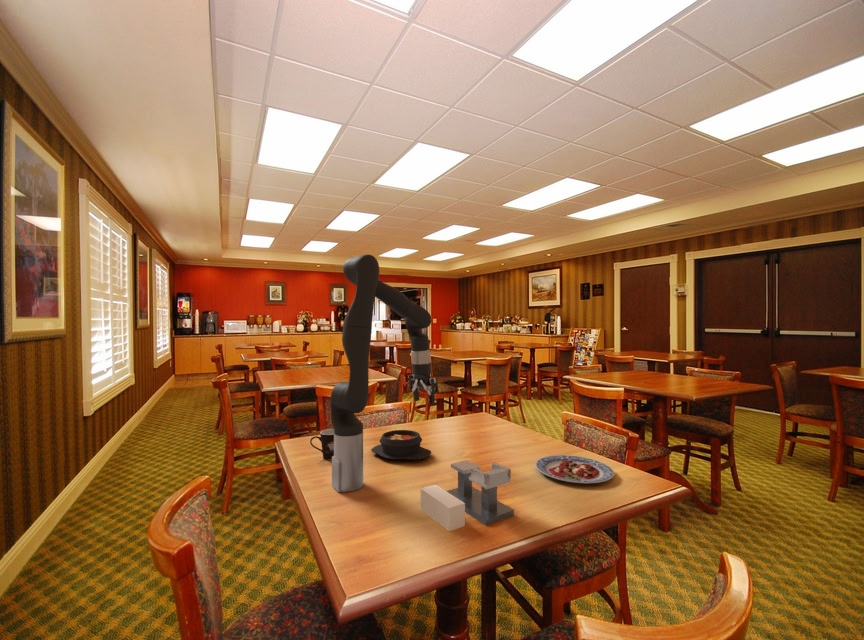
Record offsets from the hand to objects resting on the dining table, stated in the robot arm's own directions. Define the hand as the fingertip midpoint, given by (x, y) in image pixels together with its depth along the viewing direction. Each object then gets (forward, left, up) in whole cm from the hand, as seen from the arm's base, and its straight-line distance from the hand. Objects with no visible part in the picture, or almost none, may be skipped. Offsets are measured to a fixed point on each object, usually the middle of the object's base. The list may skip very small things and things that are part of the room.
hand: (424, 402), depth 153 cm
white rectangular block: (-21, -43, -22) cm, 52 cm away
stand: (-9, -43, -22) cm, 49 cm away
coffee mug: (-32, +21, -22) cm, 44 cm away
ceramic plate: (+35, -42, -22) cm, 59 cm away
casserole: (-7, +7, -22) cm, 24 cm away
